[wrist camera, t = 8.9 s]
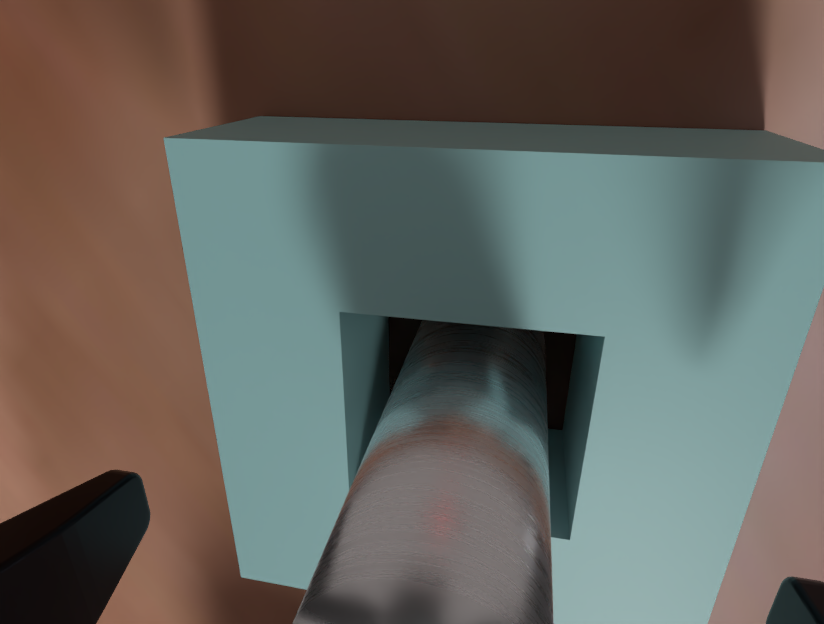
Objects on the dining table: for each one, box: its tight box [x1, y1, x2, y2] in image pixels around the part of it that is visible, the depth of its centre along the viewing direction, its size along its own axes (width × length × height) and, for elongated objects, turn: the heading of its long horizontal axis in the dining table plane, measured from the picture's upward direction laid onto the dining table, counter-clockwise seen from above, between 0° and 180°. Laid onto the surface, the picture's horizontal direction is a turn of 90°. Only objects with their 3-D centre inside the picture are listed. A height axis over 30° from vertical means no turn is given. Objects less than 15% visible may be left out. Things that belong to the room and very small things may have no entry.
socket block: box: [164, 116, 824, 624], centre depth 12 cm, size 10×10×4 cm
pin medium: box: [293, 320, 554, 624], centre depth 10 cm, size 3×3×8 cm
